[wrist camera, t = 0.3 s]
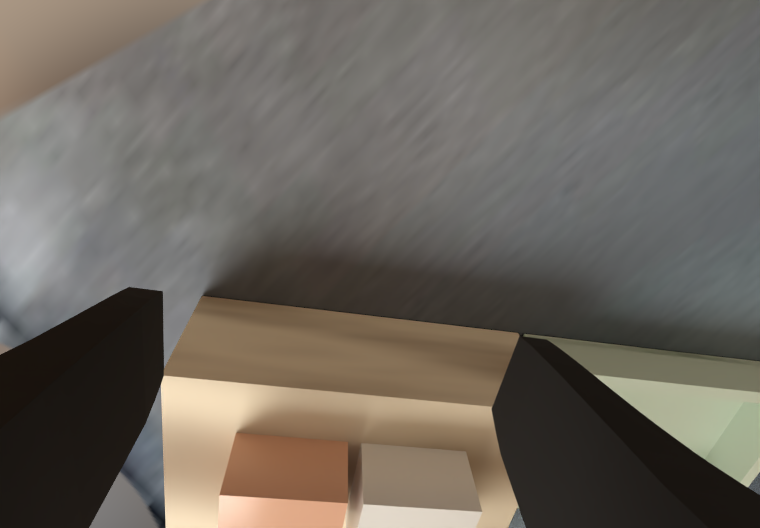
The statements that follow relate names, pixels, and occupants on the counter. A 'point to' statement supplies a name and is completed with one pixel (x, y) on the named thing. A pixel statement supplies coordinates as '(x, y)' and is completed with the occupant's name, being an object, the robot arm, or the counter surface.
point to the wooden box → (327, 394)
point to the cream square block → (412, 489)
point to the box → (685, 397)
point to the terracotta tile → (284, 483)
